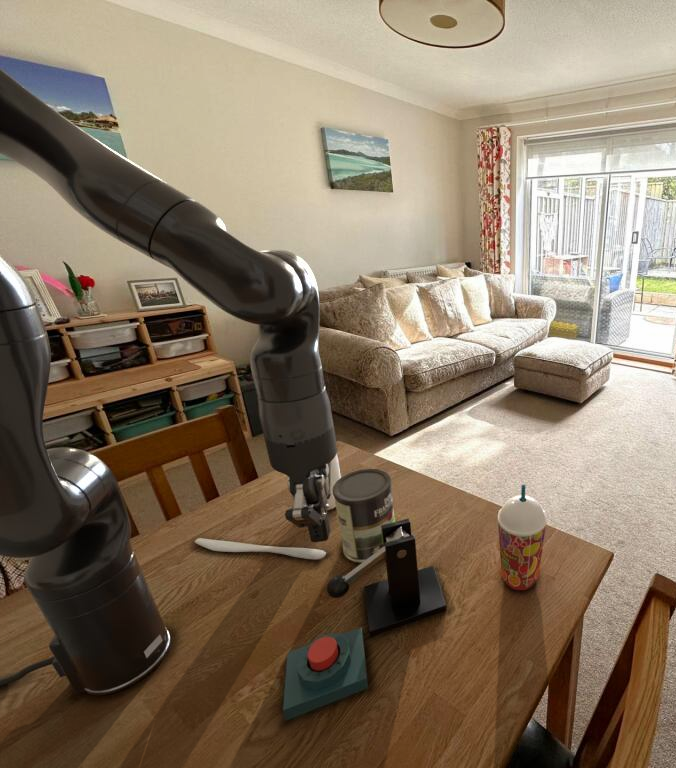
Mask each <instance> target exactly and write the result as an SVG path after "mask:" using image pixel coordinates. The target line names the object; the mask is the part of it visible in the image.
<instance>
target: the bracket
mask: <svg viewBox="0 0 676 768" xmlns="http://www.w3.org/2000/svg"><path fill="white" fill-rule="evenodd" d="M400 527H401V528H403V529H404V530H405V531H406V532H407V533H408V534H409V536H407V537H403V538H400V539H396V540H392V541H388V542H387V541H386V537H388V536H389V535H390V534H392V533H393V532H394V531H396V530H397V529H398V528H400ZM411 527H412V525H411V519H410V518H405V519H400V520H395V522H392V523H388V524H384V525H381V528H382V536H383V545H384V546H385V551H386V557H384V560H385V568H386V579H384V580H381V581H377V582H374V583H370V584H368V585H364V596H365V605H366V615H367V622H368V630H369V638H372V637H375V636H377V635H381V634H383V633H384V634H385V633H387V632H389V631H392V630H395V629H397V628H401V627H404V626H407V625H410V624H413V623H416V622H418V621H421V620H423V619H427V618H430V617H432V616H435V615H438V614H440V613H445V612H446V611H447V603H446V600H445V597H444V594H443V590H442V587H441V584H440V581H439V578H438V575H437V572H436V569H435V565H429V566H426V567H423V568H420V569H419V567H418V555H417V544H416V536H415V534H412V528H411Z"/></svg>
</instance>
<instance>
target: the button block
mask: <svg viewBox="0 0 676 768" xmlns="http://www.w3.org/2000/svg"><path fill="white" fill-rule="evenodd" d="M323 637H332V638H334V639H335V640H336V643H337V648H338V657H337V659H336V661H335V662H334V664H333V665H332V666H330V667H329V668H327V669H325V670H323V671H315V670H313V669H312V668H311V667H310V663H309V659H308V651H309V648H310V647H311V645H312V644H313V643H314V642H315V641H317V640H318V639H320V638H323ZM366 663H367V662H366V653H365V643H364V633H363V628H362V627H359V628H356V629H352V630H349V631H347V632H343V633H341V634H338V633H327V634H324V635H321V636H318V637H316V638H315V639H314V640H312V641H311V642H310V643H309V644H307V645H306V646H302V647H299V648H296V649H294V650H290V651H288V652H287V653H286V664H285V678H284V689H283V690H284V691H283V703H282V713H283V716H284V719H285V721H289V720H292V719H294V718H296V717H299V716H301V715H304V714H307V713H309V712H311V711H314V710H316V709H319V708H322V707H324V706H327V705H329V704H332V703H334V702H335V703H336V702H337V701H339V700H342V699H344V698H348V697H350V696H352V695H354V694H355V695H356V694H357V693H360V692H362V691H365V690H367V689H368V688H369V683H368V673H367V672H368V671H367V664H366Z"/></svg>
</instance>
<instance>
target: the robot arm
mask: <svg viewBox="0 0 676 768" xmlns="http://www.w3.org/2000/svg"><path fill="white" fill-rule="evenodd" d="M0 155H1V156H3V157H6V158H8V159H9V160H11V161H14V162H15V163H17V164H18V165H21V166H22V167H23V168H25V169H27V170H29V171H31V172H32V173H33V174H34V175H36V176H38V177H39V178H41V179H42V180H43V181H45V183H47V184H48V186H50V187H51V189H53V190H54V191H55V192H56V193H57V194H58V195H59V196H60V197H61V198H62V199H63V200H64V201H65V202H66V203H67V205H69V206H70V207H71V208H72V209H73V210H74V211H75V212H76V213H78V214H79V215H80V216H81V217H83V219H85V220H86V221H88V222H89V223H90V224H92V225H94V226H95V227H97V228H98V229H99V230H100V231H102V232H104V233H106V234H108V235H109V236H110V237H112V238H113V239H116V240H117V241H119V242H121V243H123V244H125V245H127V246H128V247H130V248H132V249H134V250H136V251H138V252H140V253H141V254H143V255H145V256H147V257H149V258H150V259H152V260H154V261H155V262H158V263H159V264H161V265H163V266H165V267H167V268H170V269H171V270H173V271H174V272H175V273H176V274H177V275H178V276H179V277H180V278H181V279H183V280H184V281H185V282H186V283H187V284H188V285H190V286H191V287H192V288H193V289H194V290H196V291H197V292H198V293H199V294H201V295H202V296H203V297H205V298H206V299H207V300H208V301H210V302H211V303H212V304H213V305H215V306H216V307H217V308H219V309H220V310H222V311H224V312H225V313H227V314H229V315H230V316H233V317H234V318H235V319H239V320H241V321H244V322H247V323H250V324H253V325H257V329H258V337H257V339H256V342H255V344H254V345H253V347H252V349H251V350H250V352H249V353H250V354H249V367H250V370H251V375H252V381H253V384H254V390H255V392H256V396H257V406H258V415H259V416H258V418H259V421H260V425H261V430H262V434H263V438H264V443H265V447H266V451H267V455H268V460H269V464H270V466H271V468H272V469H273V470H274V471H276V472H277V473H281V474H283V475H285V476H287V477H288V479H287V489H288V492H289V493H290V495H291V496H292V498H293V499H292V500H293V506H290V507H289V508H286V510H285V513H284V517H285V519H286V520H287V521H288V522H290V523H291V524H293V525H294V526H296V527H297V528H299V529H300V528H306V527H307V529H308V534H309V535H308V536H309V539H310V542H312V543H319V542H327V541H328V540H329V537H330V533H331V527H330V522H329V514H328V511H329V510H328V508H329V505H328V500H327V499H330V496H331V493H330V479H331V461H332V460H333V459H334V457H335V456H336V454H337V455H338V445H337V439H336V431H335V425H334V420H333V413H332V406H331V402H330V398H329V395H328V392H327V389H326V384H325V379H324V372H323V365H322V360H321V356H320V351H319V341H320V340H319V339H320V295H319V288H318V284H317V280H316V277H315V274H314V273H313V270H312V269H311V267H310V266H309V264H308V263H307V262H306V261H305V260H304V259H303V258H302V257H300V256H299V255H298V254H296V253H294V252H291V251H288V250H285V249H267V250H261V251H259V250H256V249H254V248H253V247H250V246H249V245H246V244H245V243H244V242H242V241H240V240H239V239H238V238H236V237H235V236H233V235H232V234H230V233H229V232H228V229H227V226H226V224H225V222H224V221H223V220H222V218H221V217H220V216H219V215H218V214H216V213H215V212H214V211H212V210H211V209H209V207H207V206H205V205H203V204H202V203H200V202H199V201H197V200H196V199H194V198H192V197H190V196H189V195H188V194H186V193H184V192H182V191H180V190H179V189H177V188H176V187H174V186H173V185H171V184H169V183H168V182H166V181H165V180H163V179H161V178H159V177H158V176H157V175H154V174H153V173H151V172H149V171H148V170H146V169H145V168H143V167H141V166H139V165H138V164H136V163H135V162H133V161H132V160H130V159H128V158H126V157H125V156H123V155H122V154H120V153H118V152H117V151H115V150H114V149H112V148H110V147H109V146H107V145H106V144H104V143H103V142H101V141H99V140H98V139H96V138H95V137H93V136H92V135H90V134H89V133H88V132H86V131H84V130H83V129H81V128H80V127H79V126H77V125H76V124H75V123H73V122H71V121H70V120H69V119H67V118H66V117H65V116H63V114H60V113H59V112H58V111H56V110H55V109H54V108H52V107H51V106H49V105H48V104H47V103H46V102H44V101H43V100H42V99H40V98H39V97H37V95H35V94H33V93H32V92H31V91H29V90H28V89H27V88H26V87H25V86H23V85H22V84H21V83H20V82H18V81H17V80H16V79H15V78H13V77H12V76H11V75H10V74H8V73H7V72H6V71H4V69H2V68H1V67H0ZM51 350H52V349H51V345H50V340H49V335H48V332H47V329H46V325H45V323H44V320H43V317H42V313H41V311H40V308H39V305H38V303H37V298H36V296H35V294H34V292H33V290H32V287H31V285H30V284H29V282H28V281H27V280H26V278H25V277H24V275H23V274H22V273H21V272H20V270H18V269H17V267H16V266H14V264H13V263H12V262H11V261H10V260H9V259H7V258H6V256H5V255H3V253H2V252H0V556H3V557H7V558H14V559H29V558H30V559H29V561H28V562H27V565H26V568H25V570H24V574H23V579H24V583H25V586H26V588H27V589H28V591H29V593H30V595H31V596H32V598H33V600H34V601H35V603H36V605H37V606H38V608H39V610H40V612H41V614H42V616H43V617H44V619H45V620H46V623H47V624H48V626H49V627H50V629H51V631H52V632H53V637H52V638H51V640H50V641H49V643H48V649H49V650H50V652H51V653H52V656H51V657H47V658H45V659H42V660H40V661H37V662H35V663H31V664H30V665H28V666H27V665H26V666H25V667H23V668H22V669H21V670H20V671H19V672H16V673H14V674H12V675H9V676H7V677H3V678H0V687H2V686H6V685H8V684H12V683H14V682H16V681H19V680H21V679H23V678H24V677H25V676H27V675H28V674H30V673H32V672H34V671H37V670H39V669H42V668H44V667H48V666H50V665H52V666H53V668H54V670H55V672H56V673H57V675H58V677H59V678H64V677H66V679H67V680H68V682H69V684H70V685H71V687H72V689H73V691H74V693H75V694H76V695H82V694H86V693H87V694H89V695H91V696H98V697H101V696H107V695H112V694H115V693H118V692H121V691H123V690H125V689H127V688H129V687H131V686H133V685H135V684H136V683H138V682H140V681H141V680H143V679H144V678H145V677H147V676H148V675H150V674H151V673H152V672H153V671H154V670H155V669H156V668H157V667H158V666H159V665H160V664H161V662H162V661H163V660H164V659H165V657H166V656H167V655H168V652H169V651H170V648H171V645H172V638H171V634H170V632H169V630H168V629H167V627H166V625H165V623H164V620H163V618H162V615H161V613H160V611H159V608H158V606H157V604H156V601H155V599H154V597H153V594H152V592H151V589H150V586H149V584H148V582H147V580H146V577H145V574H144V572H143V571H142V568H141V566H140V563H139V561H138V559H137V557H136V554H135V551H134V549H133V546H132V544H131V536H132V523H131V519H130V516H129V512H128V510H127V505H126V503H125V501H124V497H123V494H122V491H121V489H120V485H119V483H118V481H117V479H116V477H115V475H114V473H113V471H112V469H110V467H109V466H108V465H107V464H106V463H105V462H104V461H103V460H102V459H101V458H99V457H98V456H97V455H95V454H93V453H92V452H88V451H86V450H84V449H79V448H75V447H68V446H67V447H66V446H65V447H63V446H62V447H61V446H60V447H53V448H47V446H46V443H45V438H44V431H43V426H44V425H43V424H44V423H43V420H44V411H45V403H46V399H47V393H48V388H49V381H50V374H51V364H52V363H51V361H52V353H51V352H52V351H51Z"/></svg>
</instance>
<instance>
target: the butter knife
mask: <svg viewBox="0 0 676 768" xmlns="http://www.w3.org/2000/svg"><path fill="white" fill-rule="evenodd" d="M194 543H195V544H197V545H199V546H201V547H203V548H206V549H208V550H211V551H213V552H227V553H245V552H246V553H249V552H255V553H257V552H258V553H259V552H260V553H262V552H263V553H274V554H281V555H286V556H290V557H294V558H301V559H307V560H322V559H324V558H325V557H326V555H327V552H326V551H325V550H322V549H317V548H306V547H291V546H290V547H287V546H286V547H285V546H272V545H271V546H270V545H259V544H253V543H247V542H246V543H244V542H236V541H229V540H220V539H219V540H218V539H210V538H202V537H198V538H197V539H195V540H194Z"/></svg>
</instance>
